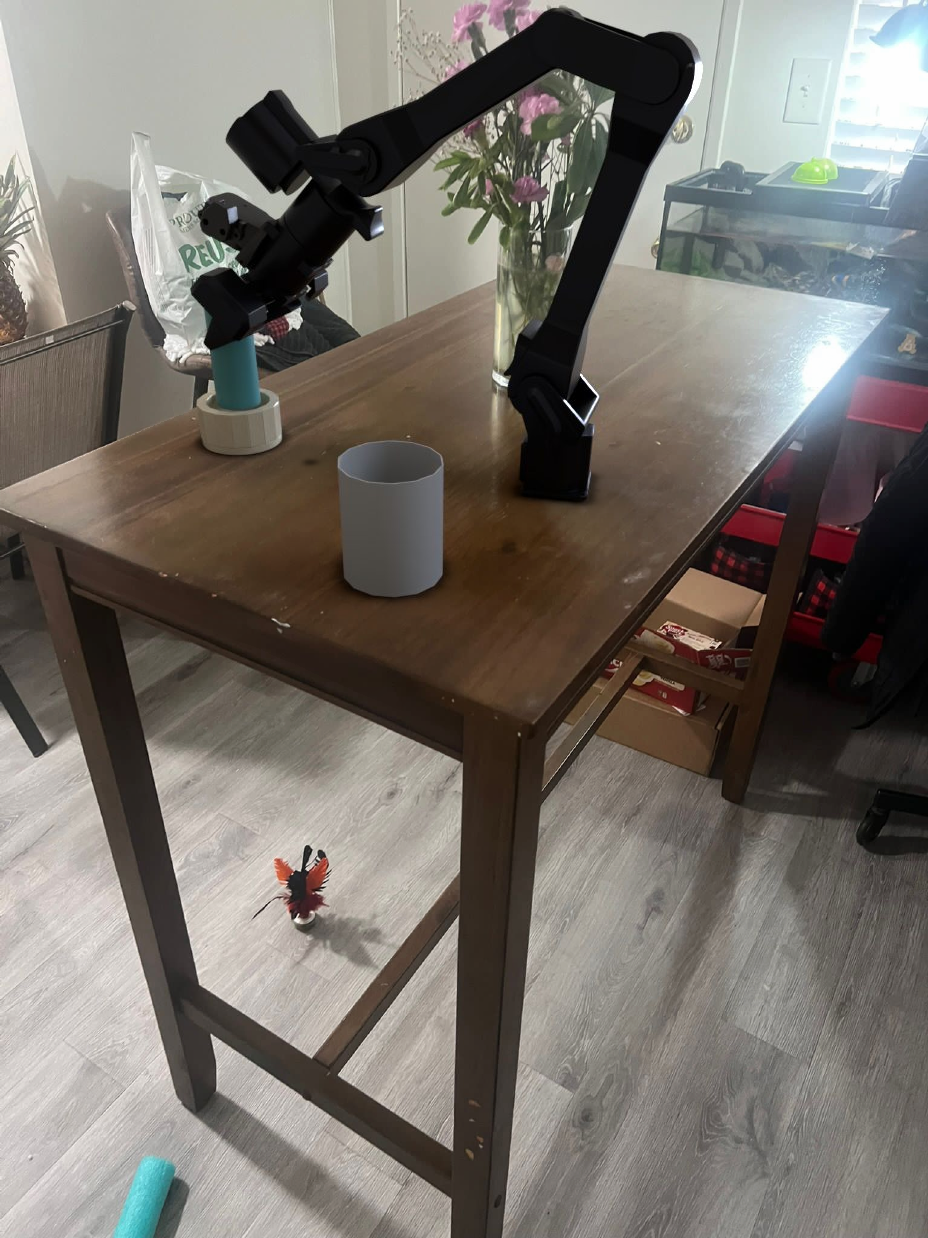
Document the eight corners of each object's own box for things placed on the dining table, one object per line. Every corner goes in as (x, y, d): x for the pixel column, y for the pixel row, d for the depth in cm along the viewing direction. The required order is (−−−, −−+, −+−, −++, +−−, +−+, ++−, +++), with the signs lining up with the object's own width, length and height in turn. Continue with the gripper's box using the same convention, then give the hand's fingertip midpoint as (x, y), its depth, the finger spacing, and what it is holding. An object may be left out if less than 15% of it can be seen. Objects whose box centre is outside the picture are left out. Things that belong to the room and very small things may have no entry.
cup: (418, 605, 72) (418, 491, 67) (326, 585, 75) (318, 473, 69) (456, 557, 79) (458, 449, 74) (370, 539, 81) (366, 434, 76)
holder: (293, 428, 103) (289, 390, 100) (265, 458, 96) (261, 417, 93) (221, 422, 104) (216, 383, 101) (189, 451, 97) (182, 410, 94)
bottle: (268, 403, 97) (255, 272, 90) (230, 413, 95) (212, 278, 87) (247, 392, 100) (232, 263, 93) (209, 401, 98) (190, 269, 90)
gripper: (292, 152, 91) (209, 259, 100) (194, 176, 76) (106, 300, 85) (368, 241, 94) (281, 338, 102) (288, 282, 79) (194, 391, 87)
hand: (219, 339), depth 94 cm, fingers closed on bottle, 4 cm apart
